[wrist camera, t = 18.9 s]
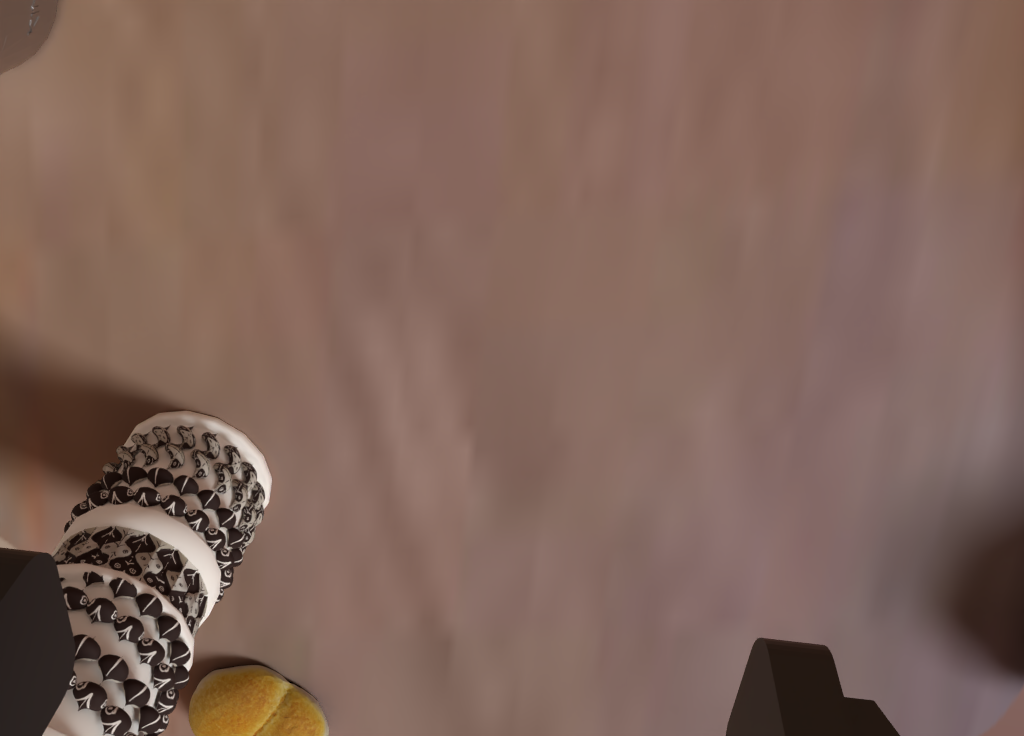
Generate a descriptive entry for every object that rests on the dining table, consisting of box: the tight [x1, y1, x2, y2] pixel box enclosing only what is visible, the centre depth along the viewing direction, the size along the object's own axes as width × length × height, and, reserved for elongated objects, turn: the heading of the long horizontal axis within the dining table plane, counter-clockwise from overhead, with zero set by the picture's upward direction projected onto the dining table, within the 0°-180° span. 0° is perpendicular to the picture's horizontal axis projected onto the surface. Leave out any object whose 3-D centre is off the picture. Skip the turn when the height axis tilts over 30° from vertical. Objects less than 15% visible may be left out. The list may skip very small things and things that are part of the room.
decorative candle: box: [42, 411, 272, 736], centre depth 42 cm, size 9×9×25 cm
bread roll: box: [189, 665, 329, 736], centre depth 62 cm, size 8×9×4 cm
